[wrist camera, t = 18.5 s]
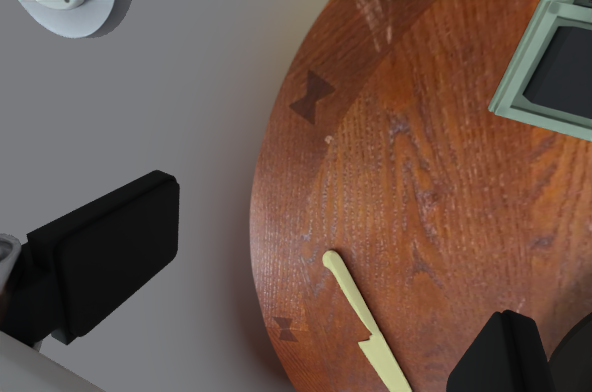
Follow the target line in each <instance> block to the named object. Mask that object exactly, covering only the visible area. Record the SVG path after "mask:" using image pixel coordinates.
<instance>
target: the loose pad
mask: <svg viewBox="0 0 592 392" xmlns="http://www.w3.org/2000/svg"><path fill="white" fill-rule="evenodd" d="M522 95H523V96H524V97H525V98H526V99H527V100H528V101H530V102H531V103H532V104H536V105H540V106H544V107H547V108H551V109H555V110H559V111H562V112H566V113H570V114H573V115H577V116H581V117H585V118H588V119H592V30H589V29H584V28H580V27H575V26H558V28H557V30H556V31H555V33H554V35H553V37H552V39H551V41H550V43H549V45H548V47H547V48H546V50H545V52H544V54H543V56H542V58H541V60H540V62H539V64H538V65H537V67H536V69H535V71H534V73H533V75H532V77H531V79H530V81H529V82H528V84H527V86H526V88H525V90H524V92H523V94H522Z"/></svg>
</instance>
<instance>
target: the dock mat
mask: <svg viewBox="0 0 592 392" xmlns="http://www.w3.org/2000/svg"><path fill="white" fill-rule="evenodd" d="M558 26H575V27H580V28H584V29H589V30H592V0H540V2H539V4H538V6H537V8H536V10H535V12H534V14H533V16H532V18H531V20H530V22H529V25H528V27H527V29H526V31H525V33H524V35H523V37H522V39H521V41H520V43H519V45H518V47H517V49H516V51H515V53H514V55H513V57H512V59H511V61H510V64H509V66H508V68H507V70H506V72H505V74H504V76H503V78H502V80H501V82H500V84H499V86H498V88H497V90H496V92H495V94H494V96H493V98H492V100H491V102H490V105H489V107H488V109H489V111H491V112H494V114H495V115H499V116H502V117H506V118H510V119H513V120H517V121H520V122H524V123H527V124H531V125H535V126H538V127H542V128H545V129H549V130H552V131H556V132H560V133H563V134H567V135H570V136H574V137H577V138H581V139H585V140H588V141H592V119H588V118H585V117H581V116H577V115H573V114H570V113H566V112H562V111H559V110H555V109H551V108H547V107H544V106H540V105H536V104H532V103H531V102H530V101H528V100H527V99H526V98H525V97H524V96H523V95H522V94H523V92H524V90H525V88H526V86H527V84H528V82H529V81H530V79H531V77H532V75H533V73H534V71H535V69H536V67H537V65H538V64H539V62H540V60H541V58H542V56H543V54H544V52H545V50H546V48H547V47H548V45H549V43H550V41H551V39H552V37H553V35H554V33H555V31H556V30H557V28H558Z"/></svg>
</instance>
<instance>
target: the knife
mask: <svg viewBox="0 0 592 392" xmlns="http://www.w3.org/2000/svg"><path fill="white" fill-rule="evenodd" d="M323 264H324V266H325V267H327V268H329V269H330V270H331V271H332V272H333V274H334V276H335V277H336V279H337V281H338V283H339V285H340V287H341V288H342V290H343V292H344V294H345V295H346V297H347V299H348V300H349V302H350V304H351V305H352V307H353V308H354V310H355V311H356V313H357V314H358V316H359V317H360V319H361V320H362V321H363V323H364V324H365V326H366V327H367V329H369V330H370V331H371V333H372V335H371V336H369V337H370V340H368V341H362V342H358V344H359V346H360V347H361V349H362V350H363V352H364V353H365V355H366V356H367V358H368V360H369V361H370V363H371V364H372V366H373V367H374V369H375V370H376V371H377V373H378V374H379V376H380V377H381V379H382V380H383V382H384V383H385V385H386V386H387V388H388V389H389V391H390V392H412V390H411V388H410V386H409V384H408V382H407V380H406V378H405V376H404V375H403V373H402V371H401V369H400V367H399V365H398V363H397V362H396V360H395V358H394V356H393V354H392V352H391V350H390V348H389V346H388V345H387V343H386V341H385V339H384V337H383V335H382V333H381V332H380V331H379V329H378V327H377V325H376V323H375V321H374V319H373V317H372V315H371V313H370V311H369V309H368V308H367V306H366V304H365V302H364V300H363V298H362V296H361V294H360V292H359V290H358V289H357V287H356V285H355V283H354V281H353V279H352V277H351V275H350V274H349V272H348V270H347V268H346V266H345V264H344V262H343V261H342V259H341V257H340V256H339V255H338V254H337V253H336V252H335V251H333V250H331V251H327V252H325V254H324V255H323Z"/></svg>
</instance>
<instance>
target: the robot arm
mask: <svg viewBox="0 0 592 392" xmlns="http://www.w3.org/2000/svg"><path fill="white" fill-rule="evenodd" d="M36 1H37V2H39V3H40V4H41V5H43V6H46V7H48V8H50V9H56V10H70V9H74V8H76V7H78V6H79V5H81V4H82V3H83V2H84V0H36ZM179 190H180V187H179V184H178V183H177V181H176V178H175V177H174V176H172V175H169V174H167V173H164V172H162V171H159V170H155V171H152V172H150V173H149V174H146V175H144V176H142V177H140V178H138V179H136V180H134V181H132V182H130V183H128V184H126V185H124V186H123V187H120V188H118V189H116V190H114V191H112V192H110V193H108V194H106V195H104V196H102V197H100V198H98V199H96V200H94V201H92V202H90V203H88V204H86V205H84V206H82V207H80V208H78V209H76V210H74V211H72V212H70V213H68V214H66V215H64V216H62V217H60V218H58V219H56V220H54V221H52V222H50V223H48V224H46V225H44V226H42V227H40V228H38V229H36V230H34V231H32V232H30V233H28V234H27V239H28V242H27V243H25V244H23V245H21V243H20V242H19V240H18V239H17V238H15V237H14V236H10V235H7V234H0V392H105V391H104V390H102V389H100V388H98V387H97V386H95V385H93V384H92V383H90V382H88V381H86V380H85V379H83V378H81V377H79V376H78V375H76V374H75V373H73V372H71V371H70V370H68V369H66V368H64V367H63V366H61V365H60V364H58V363H56V362H54V361H52V360H51V359H49V358H47V357H46V356H44V355H43V354H41V353H39V350H40V347H41V344H42V341H43V339H44V338H45V337H46V336H48V335H49V334H50V333H51V335H52V337H53V338H55V339H57V340H59V341H61V342H62V343H64V344H65V345H68V344H70V343H71V342H72V341H73V340H74V339H76V338H77V337H82V336H84V335H86V334H87V333H88V332H90V331H91V330H92V329H93V328H94V327H95V326H97V325H98V324H99V323H100V322H101V321H102V320H104V319H105V318H106V317H107V316H108V315H109V314H111V313H112V312H113V311H114V310H115V309H116V308H118V307H119V306H120V305H121V304H122V303H123V302H125V301H126V300H127V299H128V298H129V297H130V296H132V295H133V294H134V293H135V292H136V291H137V290H139V289H140V288H141V287H142V286H143V285H144V284H145V283H147V282H148V281H149V280H150V279H151V278H152V277H153V276H155V275H156V274H157V273H158V272H159V271H160V270H162V269H163V268H164V267H165V266H166V265H168V263H170V262H171V261H172V260H173V259H174V258H175V256H176V254H177V250H178V224H179ZM446 392H558V391H557V390H556V388H555V385H554V382H553V378H552V375H551V372H550V368H549V365H548V362H547V358H546V355H545V352H544V349H543V345H542V342H541V339H540V335H539V332H538V329H537V326H536V323H535V321H534V320H533V319H531V318H529V317H526V316H524V315H521V314H519V313H516V312H514V311H511V310H505V311H503V312H502V313H500V312H495V313H494V314H493V315H492V316H491V318H490V319H489V320H488V322H487V323H486V325H485V326H484V327H483V329H482V330H481V332H480V333H479V334H478V336H477V337H476V339H475V340H474V341H473V343H472V344H471V346H470V347H469V348H468V350H467V351H466V353H465V354H464V355H463V357H462V358H461V360H460V361H459V362H458V364H457V365H456V367H455V368H454V369H453V371H452V372H451V374H450V375H449V378H448V381H447V387H446Z"/></svg>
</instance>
